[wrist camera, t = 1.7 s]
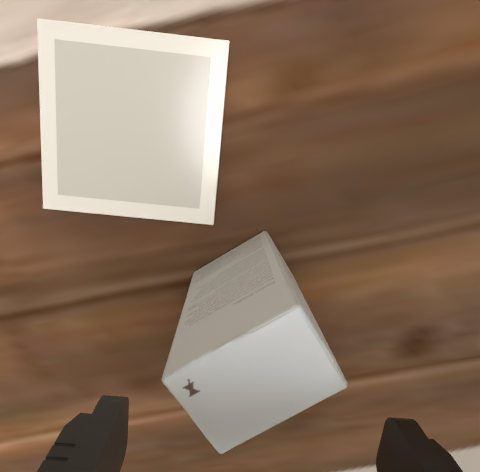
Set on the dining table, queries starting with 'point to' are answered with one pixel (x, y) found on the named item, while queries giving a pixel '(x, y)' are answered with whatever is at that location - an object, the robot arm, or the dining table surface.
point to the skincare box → (248, 347)
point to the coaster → (130, 121)
